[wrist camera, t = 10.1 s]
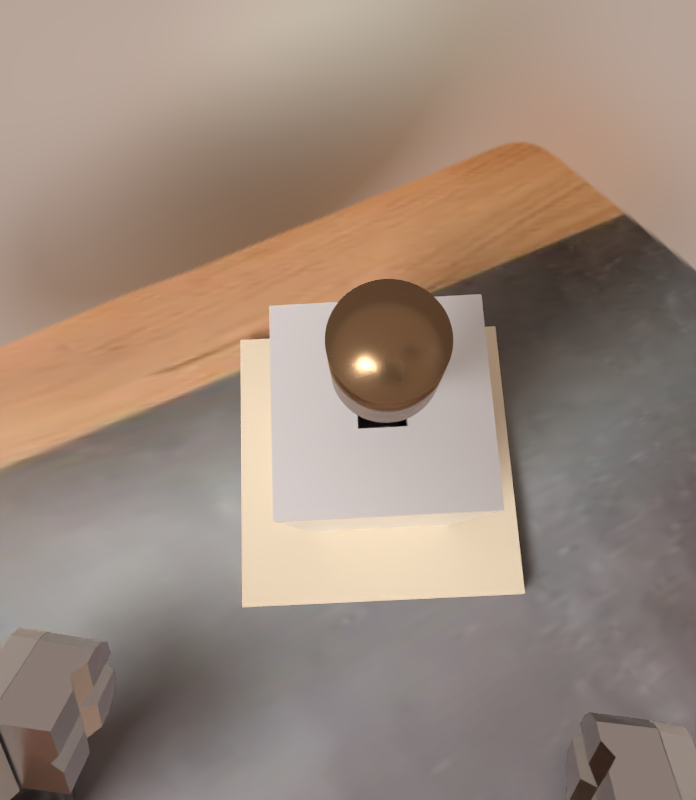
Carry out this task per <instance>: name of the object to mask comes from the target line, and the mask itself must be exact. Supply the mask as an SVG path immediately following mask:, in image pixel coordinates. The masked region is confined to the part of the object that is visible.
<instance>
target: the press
mask: <svg viewBox="0 0 696 800" xmlns="http://www.w3.org/2000/svg"><path fill="white" fill-rule="evenodd" d="M435 298H436V299H437V300H438V301H439V303H440V304H441V305H442V306H443V308H444V310H445V311H446V313H447V315H448V317H449V319H450V323H451V326H452V331H453V351H452V355H451V359H450V361H449V363H448V366H447V368H446V370H445V372H444V375H443V377H442V379H441V381H440V383H439V386H438V388H437V390H436V392H435V394H434V396H433V398H432V399H431V400H430V402H429V403H428V404H427V405H426V406H425V407H424V408H423V409H422V410H421V411H420V412H418V413H417V414H415V415H413V416H412V417H410V418H407V419H406V426H400V427H381V428H362V429H358V417H357V415H356V414H355V413H353V412H352V411H351V410H349V409H348V408H347V407H346V406H345V405H344V404H343V402H342V401H341V400H340V399H339V397H338V395H337V393H336V392H335V389H334V387H333V383H332V379H331V374H330V369H329V364H328V359H327V354H326V349H325V331H326V325H327V322H328V319H329V317H330V315H331V313H332V311H333V309H334V308H335V306H336V305H337V303H338V302H330V303H311V304H293V305H275V306H269V325H270V339H252V340H241V490H242V607H258V606H279V605H300V604H321V603H342V602H363V601H384V600H405V599H426V598H447V597H468V596H489V595H510V594H525V589H524V580H523V571H522V562H521V553H520V544H519V535H518V526H517V517H516V508H515V499H514V490H513V481H512V472H511V463H510V454H509V445H508V436H507V427H506V418H505V409H504V400H503V391H502V382H501V373H500V364H499V355H498V346H497V337H496V328H495V326H491V327H485V323H484V314H483V304H482V295H481V294H475V295H456V296H438V297H435Z"/></svg>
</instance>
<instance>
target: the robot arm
mask: <svg viewBox="0 0 696 800" xmlns="http://www.w3.org/2000/svg"><path fill="white" fill-rule="evenodd" d="M110 654H111V653H110V649H109V646H108V642H107V641H101V640H95V639H88V638H81V637H75V636H68V635H62V634H55V633H51V632H46V631H39V630H31V629H24V628H19V629H17V630H16V631H15V632H14V633H13V634H12V635H10V636H9V637H8V639H7V640H6V642H5V643H4V644H3V646H2V647H1V649H0V800H10V799H11V798H13V797H14V796H15V795H16V794H17V793H18V792H19V788H27V789H35V790H42V791H50V792H58V793H65V794H71V792H72V790H73V788H74V785H75V783H76V781H77V779H78V777H79V775H80V773H81V771H82V768H83V766H84V764H85V762H86V760H87V758H88V756H89V754H90V751H89V745H88V740H87V738H88V737H89V736H90V735H92V734H93V733H94V732H96V731H97V730H98V729H99V728H101V727H102V726H103V723H104V721H105V719H106V717H107V714H108V712H109V710H110V707H111V703H112V700H113V696H114V692H115V673H114V669H113V668H112V667H110V666H109V665H108V664H107V663H106V662H107V660H108V658H109V656H110ZM580 726H581V731H582V734H581V735H579V736H577V737H575V738H573V739H572V741H571V744H570V746H569V749H568V752H567V762H566V775H567V785H568V791H569V797H570V800H696V748H695V745H694V743H693V740H692V737H691V735H690V733H689V732H688V731H687V730H686V728H685V727H683V726H680V725H677V724H669V723H662V722H654V721H649V720H646V719H638V718H630V717H622V716H614V715H607V714H599V713H591V712H589V713H587V714H585V715H584V717H583V719H582V720H581V722H580Z"/></svg>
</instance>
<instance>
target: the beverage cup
mask: <svg viewBox="0 0 696 800" xmlns="http://www.w3.org/2000/svg"><path fill="white" fill-rule="evenodd" d="M10 800H74V794H73V790H72V792H71V794H65V793H58V792H50V791H42V790H35V789H27V788H19V792H18V793H17V794H16V795H15V796H14V797H13V798H11V799H10Z"/></svg>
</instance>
